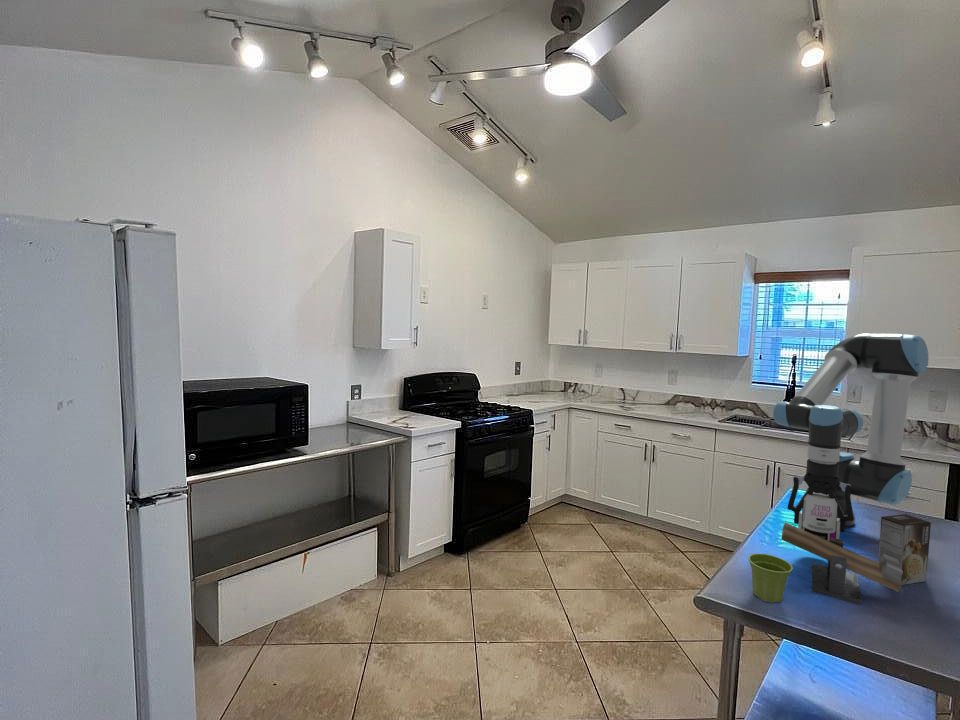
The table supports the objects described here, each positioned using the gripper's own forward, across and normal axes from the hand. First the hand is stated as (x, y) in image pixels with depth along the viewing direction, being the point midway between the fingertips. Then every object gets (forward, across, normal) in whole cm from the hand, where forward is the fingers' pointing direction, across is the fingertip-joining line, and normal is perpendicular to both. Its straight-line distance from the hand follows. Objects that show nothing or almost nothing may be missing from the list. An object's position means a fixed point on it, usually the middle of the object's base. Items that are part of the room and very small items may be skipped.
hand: (817, 538), depth 145 cm
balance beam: (-3, +4, -15) cm, 16 cm away
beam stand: (+5, +4, -16) cm, 17 cm away
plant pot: (+5, -10, -33) cm, 35 cm away
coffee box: (+6, +19, -1) cm, 20 cm away
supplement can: (+2, 0, 0) cm, 2 cm away
